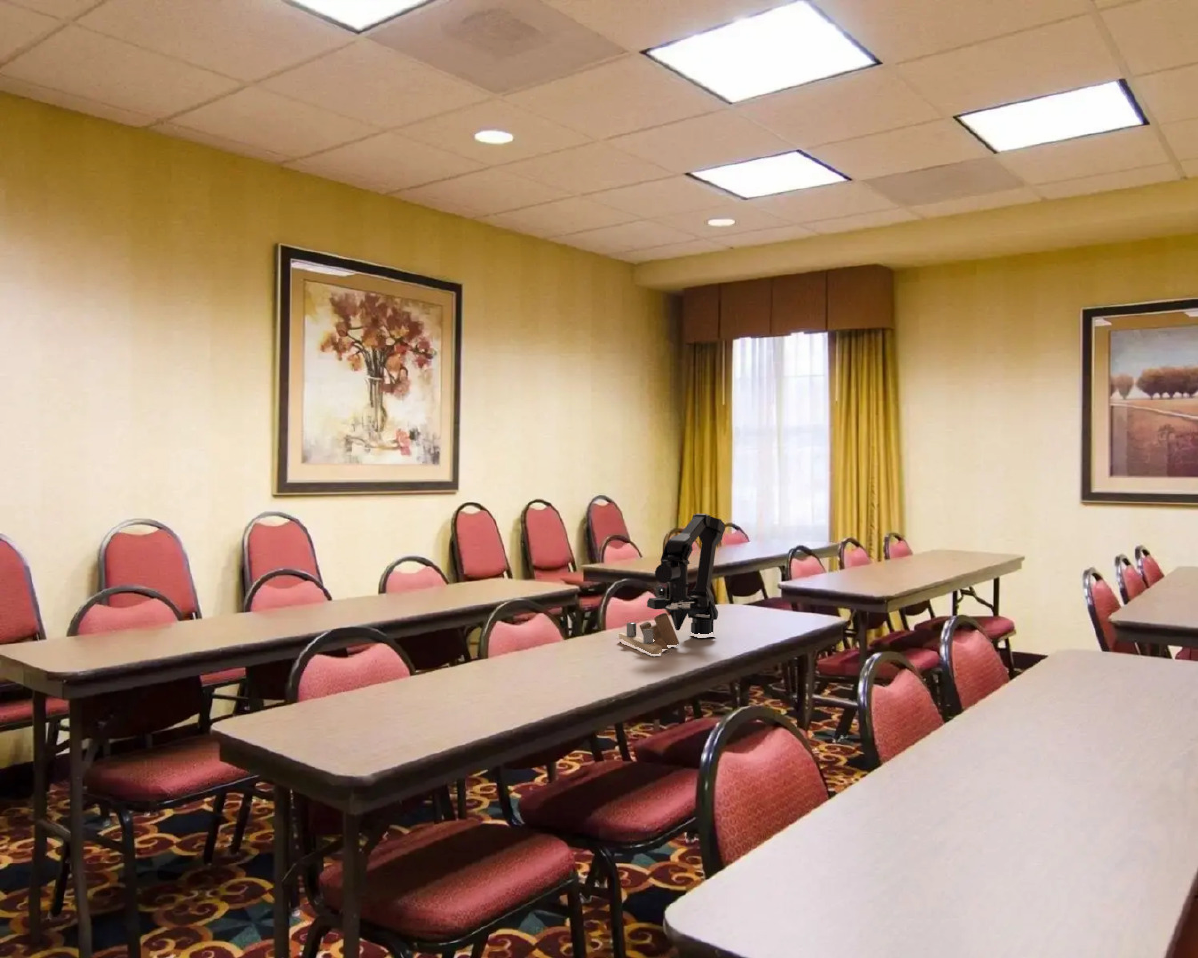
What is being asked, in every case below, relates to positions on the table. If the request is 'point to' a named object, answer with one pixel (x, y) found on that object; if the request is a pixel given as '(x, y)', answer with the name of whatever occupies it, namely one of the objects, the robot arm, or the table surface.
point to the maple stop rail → (641, 644)
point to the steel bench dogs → (646, 633)
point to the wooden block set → (662, 631)
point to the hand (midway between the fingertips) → (677, 630)
